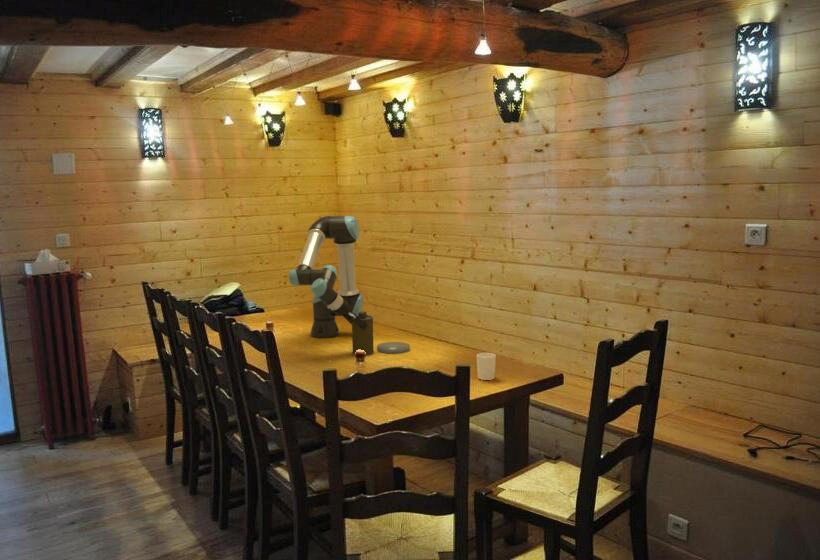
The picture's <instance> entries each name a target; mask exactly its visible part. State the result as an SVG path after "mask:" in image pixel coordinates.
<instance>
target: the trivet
mask: <svg viewBox="0 0 820 560" xmlns="http://www.w3.org/2000/svg"><path fill="white" fill-rule="evenodd" d="M410 346H411V345H410V344H409V343H406V342H402V341H387V342H382V343H378V344H377V345H376V351H377V352H378V353H381V354H387V355H388V354H389V355H396V354H404V352H405V353H408V352H409V351H411V350H410V349H411V347H410ZM407 351H408V352H407Z"/></svg>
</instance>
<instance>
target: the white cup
mask: <svg viewBox="0 0 820 560" xmlns="http://www.w3.org/2000/svg"><path fill="white" fill-rule="evenodd" d="M496 358H497V355H496V354H495V353H491V352H480V353H477V354H476V368H477V372H476V373H477V379H478V378H479V379H484V380H491V379H494V380H495V376H496V374H495V373H496V361H497V359H496ZM479 379H478V380H479ZM491 381H492V380H491Z"/></svg>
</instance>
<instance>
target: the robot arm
mask: <svg viewBox="0 0 820 560" xmlns="http://www.w3.org/2000/svg"><path fill="white" fill-rule="evenodd" d="M359 237H360V226H359V223H358V220H357V219H356V217H354V216H353V215H327V216H326V215H325V216H322V217H320V218H318V219H316V220H315V221H314V222H313V223H312V224H311V225H310V226H309V228H308V230H307V232H306V242H305V244H304V247H303V250H302V252H301V255H300V258H299V262H298V264H297V267H296V268H294V269H291V270H290V271H289V273H288V280H289V284H290V285H292V286H299V287H300V286H310V290H311V292H312V293H313V294H314V295H313V296H312V297H313V298H312V308H313V309H312V310H313V311H312V312H313V316H312V317H313V322H312V326H311V329H310V336H311V337H312V338H319V339H322V338H323V339H324V338H325V339H327V338H334V337H337V336H339V335H340V330H339V329H340V328H339V327H338V324H337V321H336V317H343V318H344V319H345V320H346V321H347V322H348V323H349V324H351V326H352V321H353V322H354V323H355V324H356V325H358V326H359V327H361V328H362V329H363V330H365V328H366V327H367V325H366V324H365V323H364V322H363V321H362V320H361V319H360V318H359V317H358V313H359V312H360V311H362V310H363V306H364V305H363V304H364V296H363V294H361V293H360V290H359V289H358V288H357V280H356V279H357V277H356V263H355V248H354V247H355V245H354V244H356V243H357V240H358V239H359ZM327 239H328V240H331V239H332V240H333V244H334V245H336V248H337V263H338V264H337V265H338V270H337V268H336V267H335V266H334V265H332V264H326V265H324V266H323V267H322V268H321V269H314V268H315V264H316V261H317V258H318V255H319V254H320V249H321V247H322V244H324V242H325V241H326V240H327ZM337 278H338V280H339V289H338V291H336V290H334V286H335V285H336V281H337ZM374 335H375V333H374V332H373V337H374Z"/></svg>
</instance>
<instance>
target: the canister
mask: <svg viewBox="0 0 820 560" xmlns="http://www.w3.org/2000/svg"><path fill="white" fill-rule="evenodd" d="M358 317H359V318H360V319H361V320H362V321H363V322H364V323H365V324H366V325H367V327H366V328H365V330H363V329H362V328H361V327H359V326H358V325H356V324H355V323H354V322H353V321H352V325H351V337H352V352H351V353H353V355H354V354H355V352H356V350H358V349H361V350H364V351H365V352H366V355H365V356H371V355H373V354H374V353H375V351H374V350H375V349H374V336H373V333H374V316H372V315H368V314H367V311H360V312H359V313H358Z"/></svg>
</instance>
